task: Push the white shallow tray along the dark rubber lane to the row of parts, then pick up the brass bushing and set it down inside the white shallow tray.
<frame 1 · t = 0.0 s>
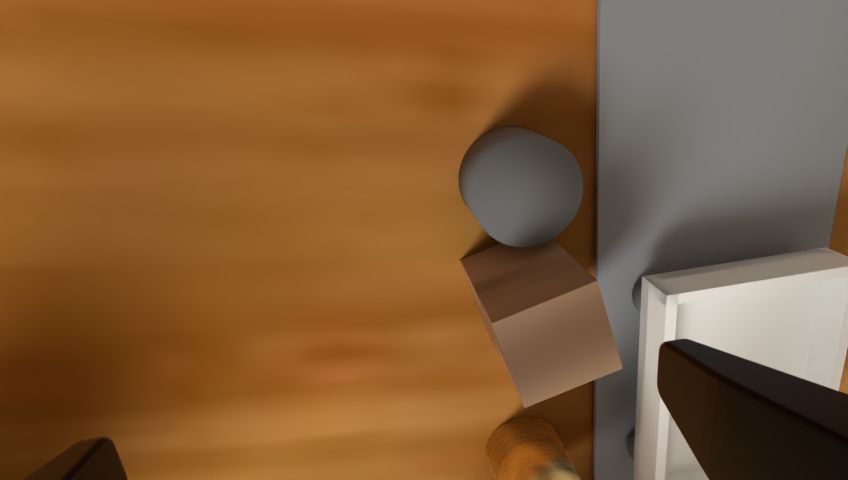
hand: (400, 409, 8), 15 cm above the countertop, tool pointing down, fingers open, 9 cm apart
white shallow tray: (728, 376, 26), point 2 cm above the countertop, slide at 0.0 cm
brass bushing: (521, 446, 28), on the countertop
black gear blank: (507, 176, 23), on the countertop
lane mat: (709, 286, 26), on the countertop
walnut block: (513, 279, 25), on the countertop
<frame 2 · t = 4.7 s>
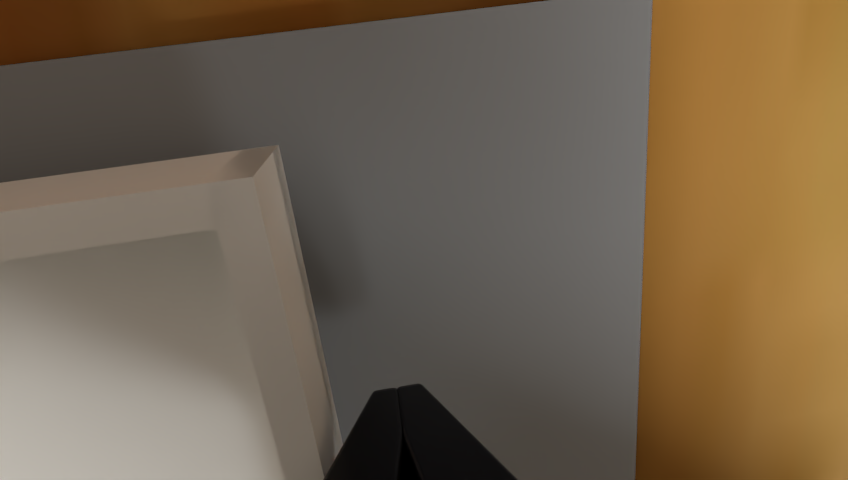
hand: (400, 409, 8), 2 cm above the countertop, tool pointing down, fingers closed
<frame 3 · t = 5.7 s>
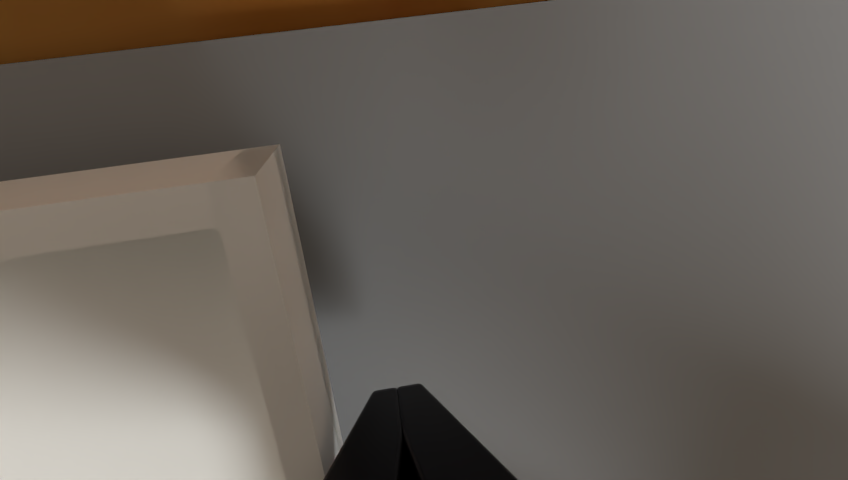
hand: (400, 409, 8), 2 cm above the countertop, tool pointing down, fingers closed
lane mat: (187, 380, 10), on the countertop
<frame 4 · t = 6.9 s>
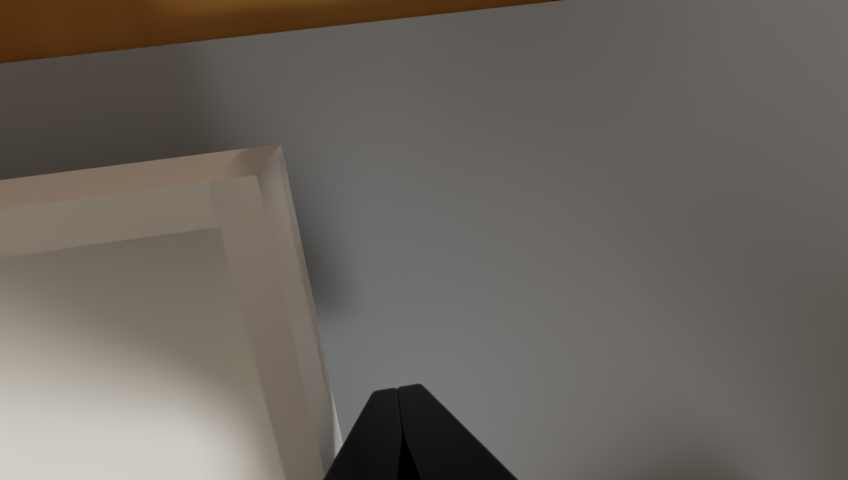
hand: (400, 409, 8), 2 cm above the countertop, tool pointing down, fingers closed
lane mat: (428, 340, 11), on the countertop
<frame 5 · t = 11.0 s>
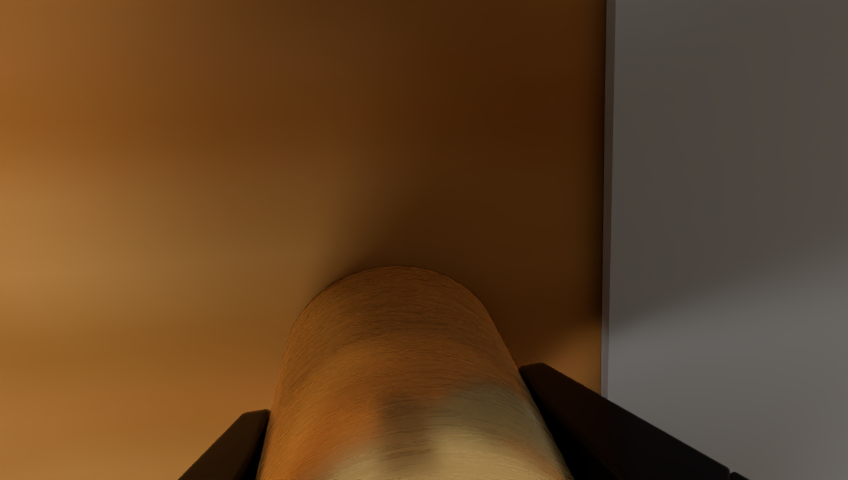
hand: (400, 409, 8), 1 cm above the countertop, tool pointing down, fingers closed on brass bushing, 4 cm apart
brass bushing: (394, 365, 10), on the countertop, touching gripper
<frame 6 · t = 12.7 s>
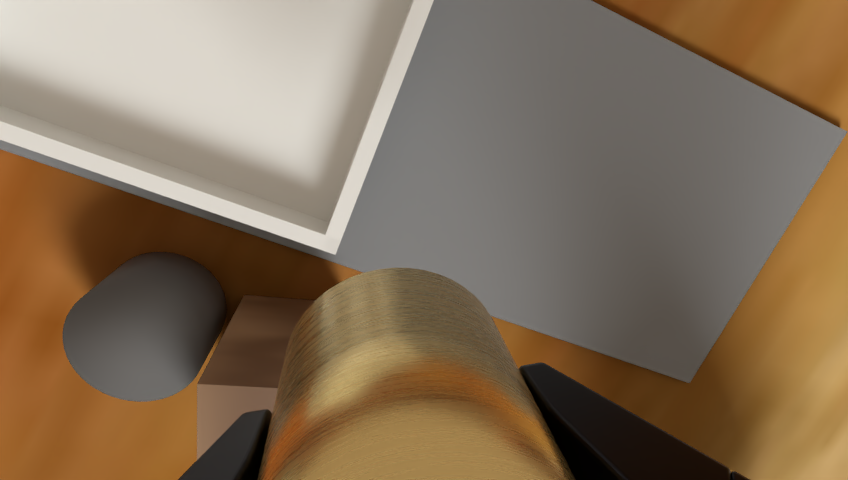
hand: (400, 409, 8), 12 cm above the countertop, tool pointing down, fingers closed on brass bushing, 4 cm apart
white shallow tray: (194, 33, 15), point 2 cm above the countertop, slide at 12.0 cm
brass bushing: (395, 367, 10), point 11 cm above the countertop, touching gripper
black gear blank: (167, 305, 20), on the countertop
lane mat: (435, 129, 19), on the countertop
walnut block: (294, 343, 21), on the countertop
when the fingers open (5 cm above the countertop, at t = 14.6 s): brass bushing drops 1 cm, resting on white shallow tray.
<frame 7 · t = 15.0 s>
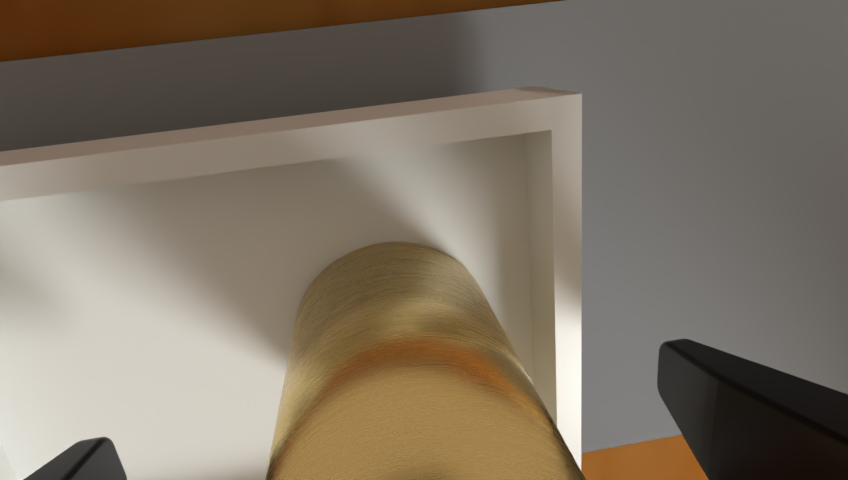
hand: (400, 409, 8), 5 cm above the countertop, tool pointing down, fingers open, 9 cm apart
white shallow tray: (269, 347, 11), point 2 cm above the countertop, slide at 12.0 cm, touching brass bushing
brass bushing: (394, 332, 11), point 2 cm above the countertop, touching white shallow tray
lane mat: (597, 255, 13), on the countertop
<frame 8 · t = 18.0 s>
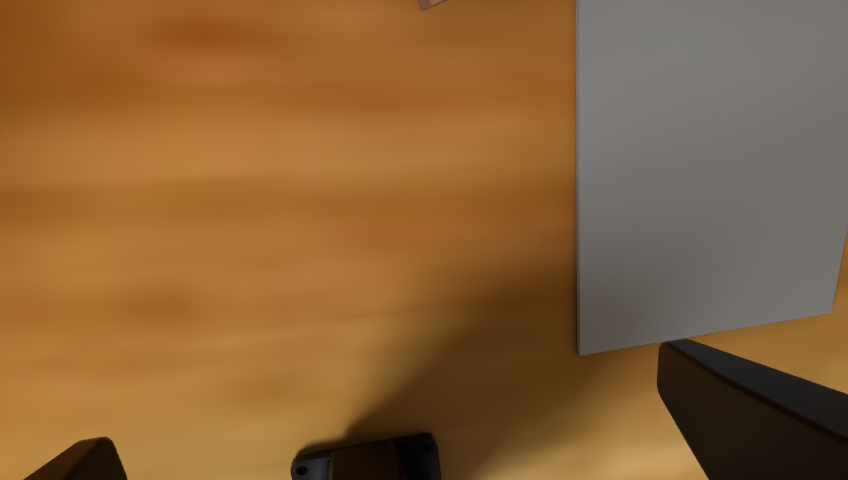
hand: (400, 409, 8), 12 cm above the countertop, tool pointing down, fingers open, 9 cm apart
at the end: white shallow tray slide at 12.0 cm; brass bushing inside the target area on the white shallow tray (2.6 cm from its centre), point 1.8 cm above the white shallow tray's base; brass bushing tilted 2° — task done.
